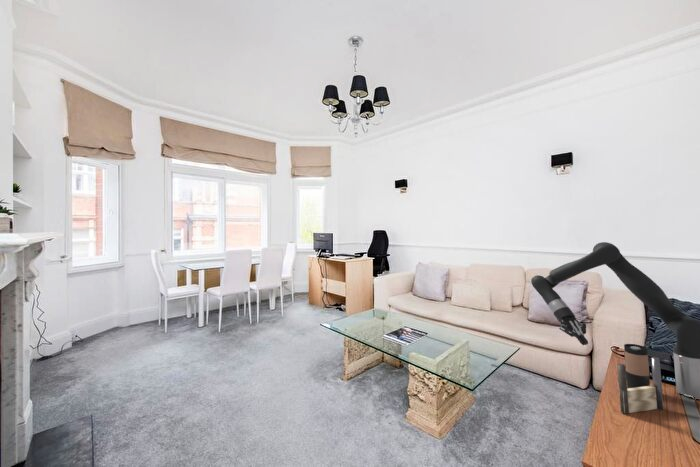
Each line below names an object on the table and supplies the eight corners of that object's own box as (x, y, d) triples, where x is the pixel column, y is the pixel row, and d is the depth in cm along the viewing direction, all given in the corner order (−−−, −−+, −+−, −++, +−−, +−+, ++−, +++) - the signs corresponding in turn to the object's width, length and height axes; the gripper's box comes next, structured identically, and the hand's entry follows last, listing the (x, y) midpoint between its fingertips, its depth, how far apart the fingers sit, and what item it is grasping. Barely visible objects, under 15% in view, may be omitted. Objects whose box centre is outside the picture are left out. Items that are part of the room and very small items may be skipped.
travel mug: (640, 387, 133) (637, 343, 134) (656, 396, 126) (652, 349, 126) (622, 387, 134) (619, 343, 135) (636, 396, 127) (633, 349, 127)
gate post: (658, 406, 119) (654, 356, 119) (665, 409, 116) (661, 359, 117) (653, 407, 118) (649, 357, 119) (660, 410, 116) (656, 359, 116)
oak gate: (651, 406, 118) (647, 360, 119) (658, 409, 116) (654, 362, 116) (619, 410, 116) (615, 364, 117) (625, 414, 114) (621, 366, 114)
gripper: (552, 307, 140) (577, 341, 127) (577, 305, 141) (604, 339, 129) (544, 315, 145) (567, 349, 132) (568, 313, 146) (593, 346, 134)
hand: (585, 344), depth 130 cm, fingers closed
